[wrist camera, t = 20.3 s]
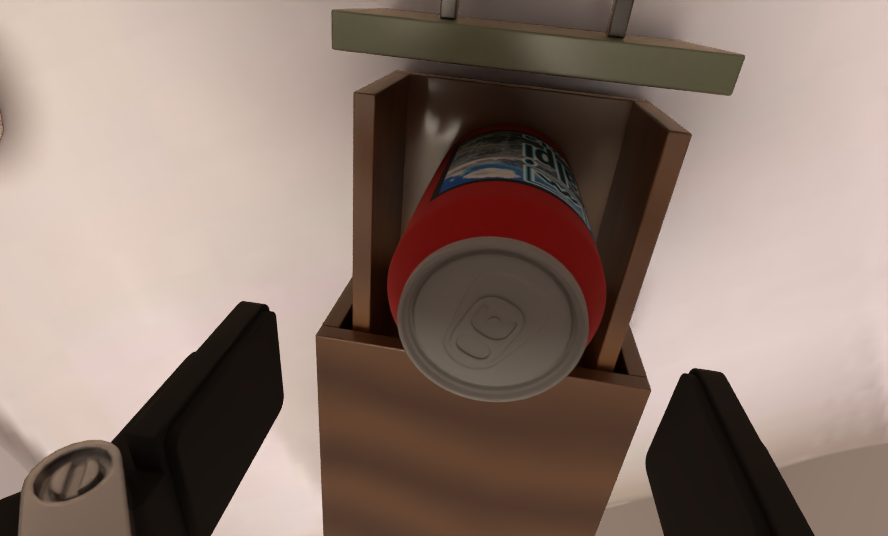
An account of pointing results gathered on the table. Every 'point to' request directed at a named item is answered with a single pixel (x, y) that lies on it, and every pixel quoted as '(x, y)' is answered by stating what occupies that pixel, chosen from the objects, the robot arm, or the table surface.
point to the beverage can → (498, 269)
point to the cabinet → (464, 444)
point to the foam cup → (0, 128)
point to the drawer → (542, 109)
